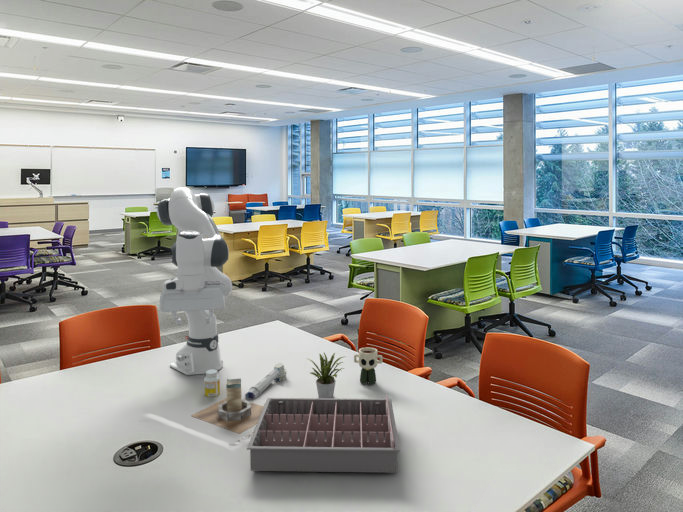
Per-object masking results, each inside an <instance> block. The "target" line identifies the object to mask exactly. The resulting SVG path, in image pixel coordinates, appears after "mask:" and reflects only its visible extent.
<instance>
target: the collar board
mask: <svg viewBox="0 0 683 512" xmlns="http://www.w3.org/2000/svg"><path fill="white" fill-rule="evenodd" d="M264 406H265V405H264ZM264 406H263V405H260V404H257V403H254V402H251V401H248V400H245V399H243V398H242V410H241V411H236V412H227V401H225V402H224V398H223V399H222V400H219V401H218V402H215V403H213V404H211V405H210V406H208V407H206V408H203V409H202V410H201V409H200V411H197V412H196V413H193V414H191V415H190V417H192V418H196V419H199V420H201V421H204V422H207V423H209V424H212V425H214V426H217V427H220V428H222V429H225V430H228V431H231V432H233V433H237V434H239V435H240V434H242V433H243V432H246V431H247V430H249V429H251V428H252V427H254V426H256V425H257V423H258V420H259V418H260V415H261V413H262V410H263V408H264Z"/></svg>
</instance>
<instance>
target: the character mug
mask: <svg viewBox="0 0 683 512" xmlns="http://www.w3.org/2000/svg"><path fill="white" fill-rule="evenodd" d="M357 358H358V360H357ZM378 359H379V360H378ZM353 362H354V363H357V364H359V365H358V366H359V367H360V368H361V369H360V375H359V381H360V383H361V384H363V385H367V383H368V385H369V386H370V385H374V384H376V382H377V374H376V370H375V368H376V367H378V364H380V365H381V364H383V355H382V354H378V349H377V348H374V347H368V346H367V347H361V348H359V350H358V353H356V354H353Z"/></svg>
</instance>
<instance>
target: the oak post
mask: <svg viewBox="0 0 683 512" xmlns="http://www.w3.org/2000/svg"><path fill="white" fill-rule="evenodd" d="M225 386H226V398H227V412H236V411H241V410H242V399H243V398H242V378H230V379H229V378H227V379H226V384H225Z"/></svg>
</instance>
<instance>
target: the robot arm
mask: <svg viewBox="0 0 683 512" xmlns="http://www.w3.org/2000/svg"><path fill="white" fill-rule="evenodd" d="M214 212H215V204H214V201H213V199H212V198H211V196H210V195H209V194H208V193H201V192H200V193H198V194H197V193H196V194H195V193H194V191H193V190H191V189H190V188H188V187H184V186H183V187H181V186H180V187H178V188H175V189H174V190H172V192H171V194H170V196H169V198H165V199H162V200H160V201H159V202H158V203H157V207H156V215H157V218H158V219H159V221H160V222H161V224H162V225H165V226H174V227H175V228H176V229H177V235H176V239H175V242H173V244H172V245H171V246H170V250H171V259H172V261H171V263H172V264H173V265H174V266H176V267H177V271H176V277H172V278H169V279H167V280H165V281H164V282H163V283H162V286H161V287H162V291H161V293H160V296H159V310H160V311H161V312H162V313H171V316H172V317H173V319H174V320H175V325H176V326H178V325H180V326H181V325H182V318H181V317H178V315H177V314H178V312H183V313H184V314H185V315H186V319H187V324H188V335H187V336H185V337H184V339H185V340H186V343H185V344H184V345H183V346H182V347H181V348H180V349H179V350H177V351H176V355H175V360H174V361H173V362H171V363H170V364H169V366H170V368H172V369H175V370H176V371H178V372H180V373H182V374H184V375H186V376H192V375H206V371H208V370H212V369H214V370H217V371H219V370H221V369H222V368H223V359H222V358H221V357H222V355H221V349H220V345H219V334H218V331H217V330H218V327H217V326H218V325H217V323H218V322H217V316H216V314H214V313H215V311H219V310H220V311H221V310H223V309H224V308H225V307H226V301H225V300H226V299H225V298H228V297H230V295H231V293H232V291H233V283H232V279H231V278H230V277H229V276H228V275H227V274H225V273H224V272H222V271H220V270H219V268H222V266H224V265H225V264H227V261H229V254H230V253H229V252H230V250H229V246H228V243H227V241H226V240H225V239H224V238H223V236H222V235H221V233H220V230H219V229H218V226H217V225H216V223H215V221H214V218H213V216H214Z"/></svg>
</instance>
